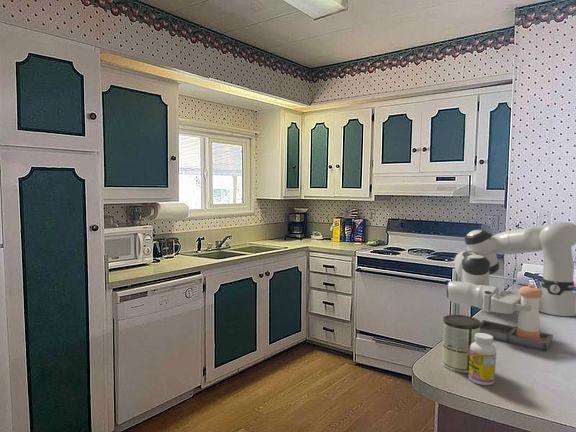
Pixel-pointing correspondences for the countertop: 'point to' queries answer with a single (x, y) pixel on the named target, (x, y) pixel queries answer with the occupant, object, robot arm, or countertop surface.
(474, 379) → the supplement bottle
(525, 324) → the salt shaker
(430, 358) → the countertop surface
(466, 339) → the coffee can
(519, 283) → the countertop surface
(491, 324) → the tray
